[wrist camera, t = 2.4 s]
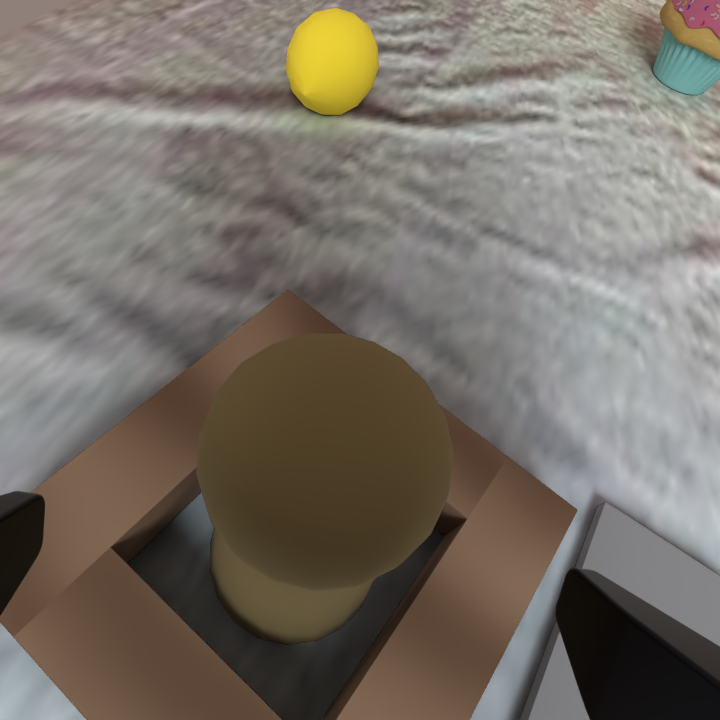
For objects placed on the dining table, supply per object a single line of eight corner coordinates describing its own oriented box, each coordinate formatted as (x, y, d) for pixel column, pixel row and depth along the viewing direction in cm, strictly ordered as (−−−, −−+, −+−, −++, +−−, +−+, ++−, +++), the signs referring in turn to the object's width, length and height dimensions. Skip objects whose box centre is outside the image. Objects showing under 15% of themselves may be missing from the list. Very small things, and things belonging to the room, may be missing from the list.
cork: (199, 486, 19) (148, 303, 10) (354, 454, 21) (434, 274, 11) (221, 669, 16) (179, 655, 7) (399, 615, 18) (554, 546, 9)
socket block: (317, 943, 13) (328, 993, 11) (-16, 575, 16) (-55, 560, 14) (544, 527, 20) (577, 509, 18) (284, 324, 23) (287, 289, 21)
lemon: (341, 151, 32) (349, 70, 27) (266, 115, 32) (261, 30, 27) (390, 88, 35) (405, 5, 30) (320, 56, 35) (324, -30, 30)
